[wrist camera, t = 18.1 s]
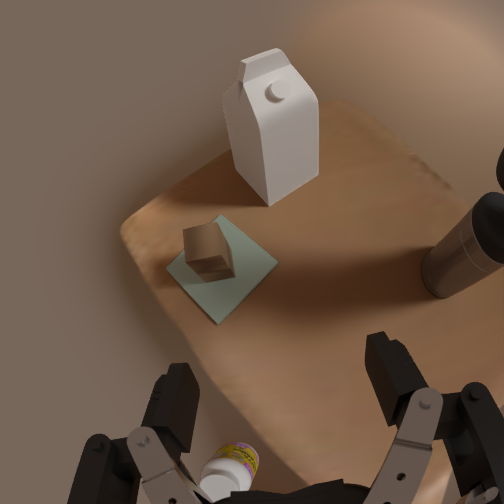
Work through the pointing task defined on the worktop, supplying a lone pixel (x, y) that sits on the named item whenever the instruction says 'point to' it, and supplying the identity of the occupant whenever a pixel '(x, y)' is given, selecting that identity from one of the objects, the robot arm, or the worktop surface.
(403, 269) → the worktop surface
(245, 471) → the supplement bottle
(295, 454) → the worktop surface
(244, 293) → the sage board
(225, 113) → the milk
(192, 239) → the walnut block
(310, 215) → the worktop surface
